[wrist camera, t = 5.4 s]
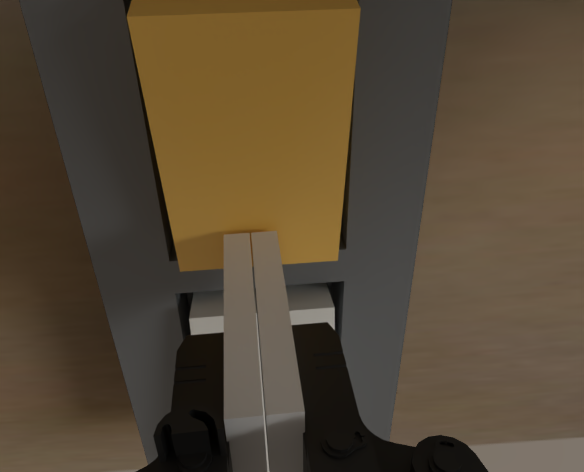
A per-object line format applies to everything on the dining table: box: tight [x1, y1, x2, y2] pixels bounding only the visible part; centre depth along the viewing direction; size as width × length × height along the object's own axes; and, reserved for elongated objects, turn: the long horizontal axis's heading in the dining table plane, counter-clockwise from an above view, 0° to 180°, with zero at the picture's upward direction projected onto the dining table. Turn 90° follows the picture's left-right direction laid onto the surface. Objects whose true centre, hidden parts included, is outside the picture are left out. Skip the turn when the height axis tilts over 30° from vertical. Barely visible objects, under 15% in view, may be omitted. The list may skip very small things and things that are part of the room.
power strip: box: [19, 0, 452, 465], centre depth 17 cm, size 38×11×5 cm, turn 1°
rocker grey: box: [189, 283, 335, 472], centre depth 21 cm, size 8×5×2 cm, turn 1°
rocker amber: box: [127, 0, 361, 272], centre depth 15 cm, size 8×5×2 cm, turn 1°
